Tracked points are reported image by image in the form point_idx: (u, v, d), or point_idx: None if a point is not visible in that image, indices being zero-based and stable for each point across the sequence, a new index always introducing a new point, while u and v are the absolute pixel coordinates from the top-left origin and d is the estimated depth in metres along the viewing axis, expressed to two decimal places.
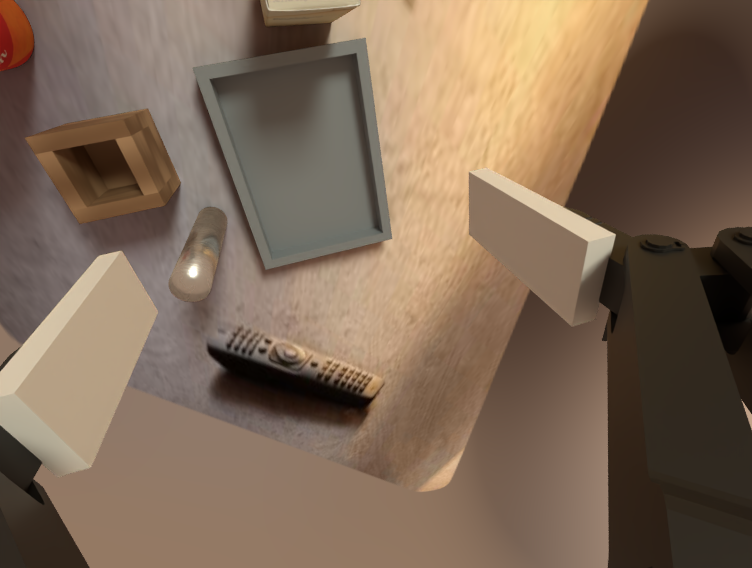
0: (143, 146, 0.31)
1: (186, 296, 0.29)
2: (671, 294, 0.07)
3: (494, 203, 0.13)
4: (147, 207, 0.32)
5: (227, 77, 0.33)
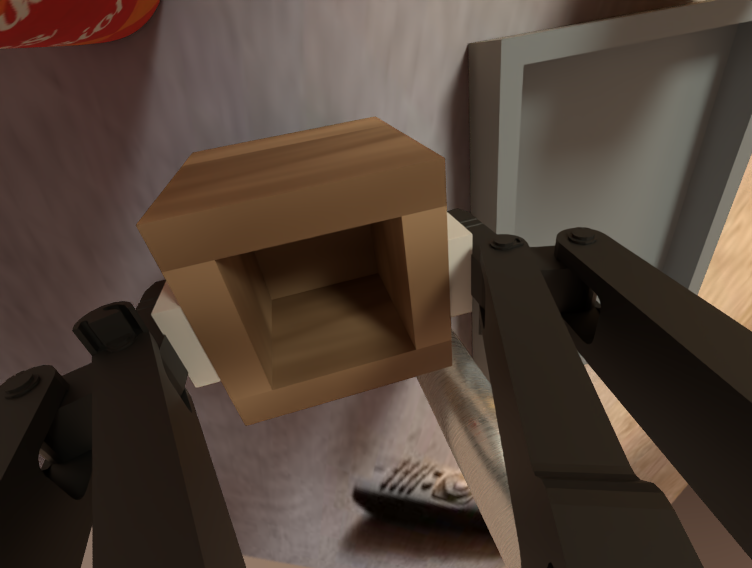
0: None
1: None
2: (520, 287, 0.08)
3: None
4: (412, 373, 0.12)
5: (523, 64, 0.17)
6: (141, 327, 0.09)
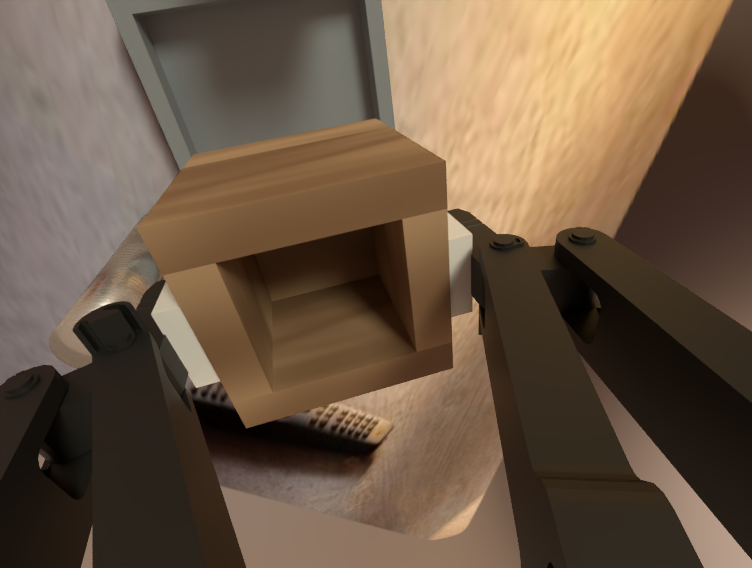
0: None
1: (84, 362, 0.18)
2: (520, 287, 0.08)
3: None
4: (413, 376, 0.12)
5: (166, 17, 0.22)
6: (141, 327, 0.09)
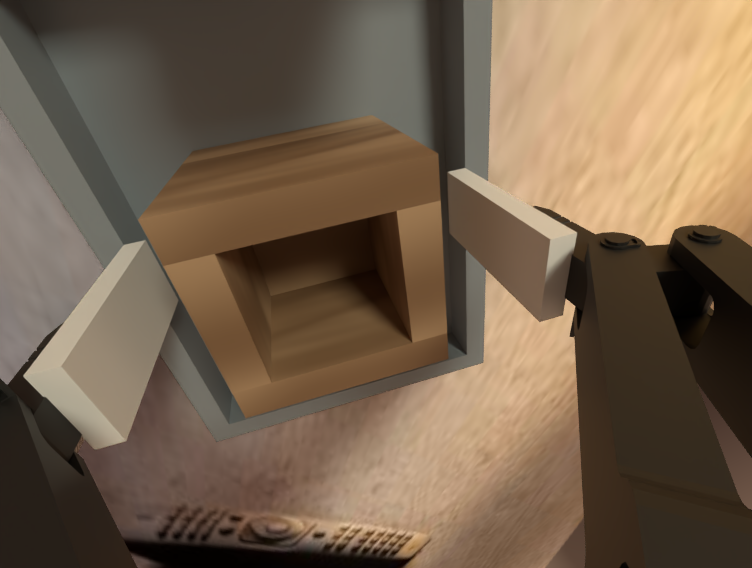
0: None
1: None
2: (630, 290, 0.07)
3: (469, 203, 0.13)
4: (409, 366, 0.13)
5: None
6: (4, 391, 0.07)
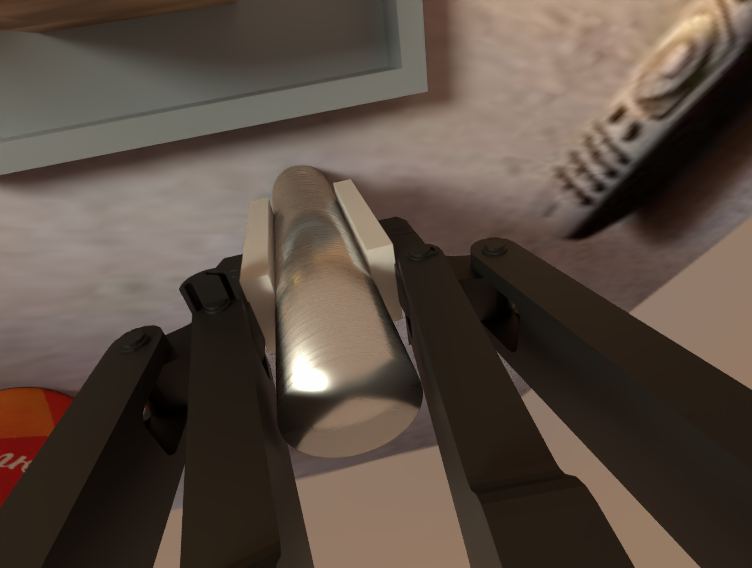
0: None
1: (395, 417, 0.08)
2: (440, 295, 0.08)
3: (343, 213, 0.14)
4: None
5: None
6: (235, 294, 0.09)
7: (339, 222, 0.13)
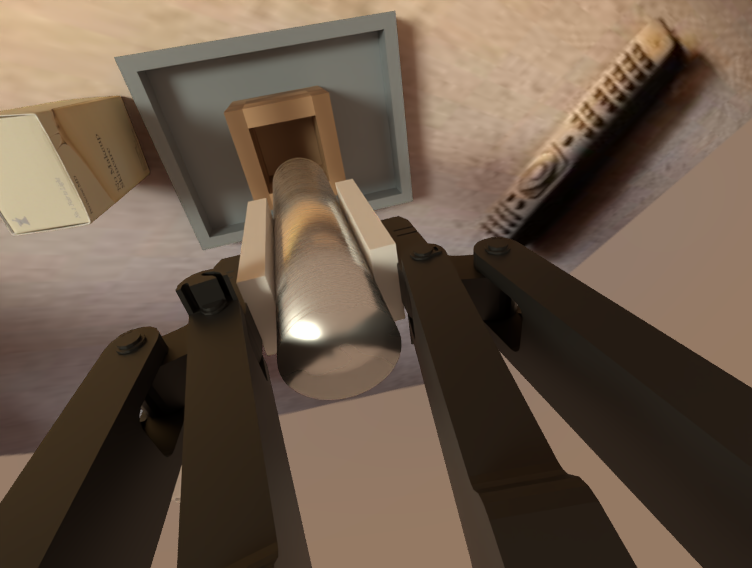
0: (259, 103, 0.26)
1: (378, 364, 0.09)
2: (442, 295, 0.08)
3: (345, 213, 0.14)
4: (330, 115, 0.26)
5: (208, 215, 0.34)
6: (232, 295, 0.09)
7: (333, 206, 0.14)
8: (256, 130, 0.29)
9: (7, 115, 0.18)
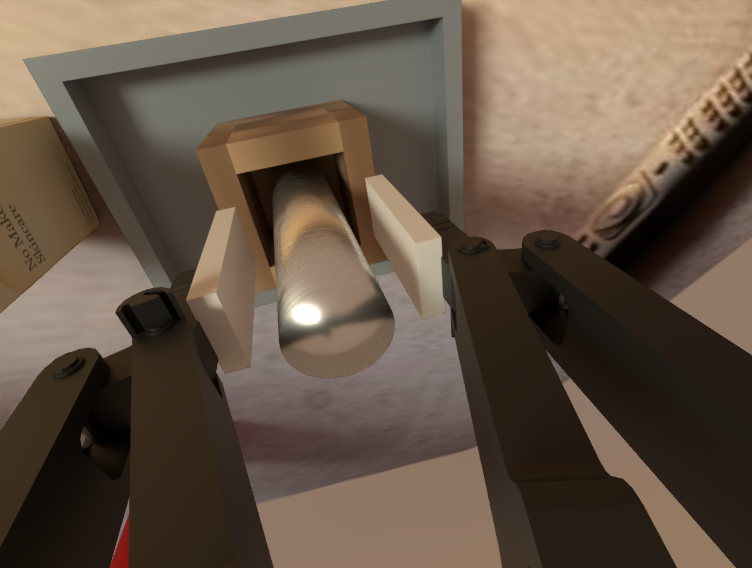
0: (255, 132, 0.16)
1: (373, 343, 0.10)
2: (489, 289, 0.08)
3: (378, 208, 0.14)
4: (367, 151, 0.16)
5: None
6: (178, 313, 0.09)
7: (330, 199, 0.15)
8: None
9: None
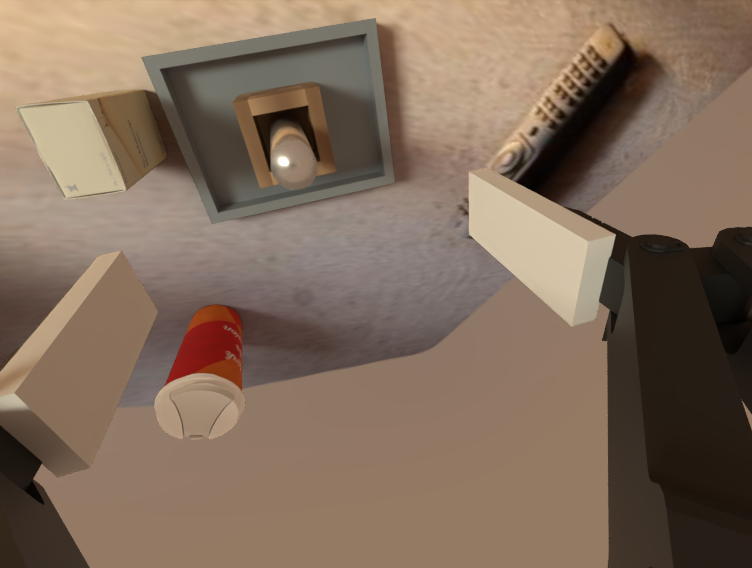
0: (261, 95, 0.31)
1: (309, 173, 0.25)
2: (671, 294, 0.07)
3: (493, 203, 0.13)
4: (320, 105, 0.31)
5: (217, 194, 0.39)
6: None
7: (299, 128, 0.29)
8: (258, 119, 0.35)
9: (66, 102, 0.24)
